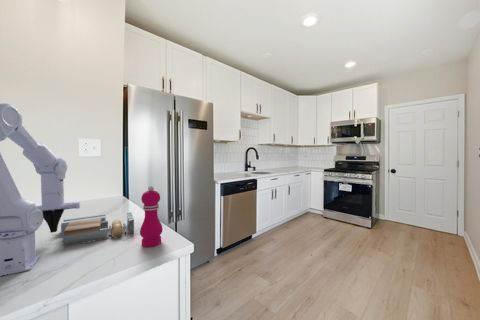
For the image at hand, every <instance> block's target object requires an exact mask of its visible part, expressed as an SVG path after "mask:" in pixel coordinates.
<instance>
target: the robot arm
mask: <svg viewBox="0 0 480 320" xmlns="http://www.w3.org/2000/svg"><path fill="white" fill-rule="evenodd" d="M7 138H9V140H11V142H13V143H14V144H16V145H18V146H19V147H20V148H21V149H23V150H22V156H24V157H25V158H27V159H28V160H29V161H30V162H31V163H32V165H33V167H34V168H35V172H36V174H38V175H40V193H41V205H36V203H34V202H32V201H31V200H27V199H26V198H23V197H22V195H21V193H20V191H19V188H18V187H17V185H16V182H15V181H14V178H13V176H12V174H11V172H10V171H9V168H8V166H7V163H6V162H5V159H4V158H3V155H2V153H1V152H0V277H2V275H4V276H7V274H8V275H12V274H17V273H21V272H25V271H29V270H32V268H33V267H34V266H35V264H36V262H38V260H39V258H40V257H41V255H42V254H41V253H37V254H36V231H38V230H39V228H40V227H41V226H42V225H43V221H45V222H46V224H47V226H48V228H49V230H50V231H49V232H50V233H51V234H52V233H57V231H58V227H59V223H60V221H61V218H62V216H63V214H64V211H65V210H74V209H76V210H77V209H80V208H81V202H80V201H78V202H77V201H76V202H65V192H64V191H65V189H64V187H65V185H64V183H65V182H64V179H65V178H66V173H67V171H68V164H67V162H66V160H64V159H63V158H61V157H60V158H58V157H57V156H56V155H55V153H53V152H52V151H51V150H50V148H49V147H47V145H46V144H45V143H43V142H37V141H36V140H35V139H34V137H33V136H32V135H31V133H30V132H29V131H28V130H27V129H26V127H25V126H24V125H23V116H22V114H20V113H19V111H18V109H17V108H16V107H15V106H13V105H12V104H11V103H10V104H9V103H0V142H2V141H5V140H6V139H7ZM33 265H34V266H33Z"/></svg>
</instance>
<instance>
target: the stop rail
mask: <svg viewBox="0 0 480 320" xmlns="http://www.w3.org/2000/svg"><path fill="white" fill-rule="evenodd" d="M126 220H127V222H126V226H127V229H128V230H129V231H128V230H127V231H128V235H129V234H131V235H134V234H135V219H134V216H133V214H132V212H126Z"/></svg>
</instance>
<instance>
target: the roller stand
mask: <svg viewBox="0 0 480 320" xmlns="http://www.w3.org/2000/svg"><path fill="white" fill-rule="evenodd" d="M95 218H101V222H102V221H107V220H106V214H104V213H103V214H98V215H91V216H84V217H76V218H67V219H63V221H62V222H61V224H60V235H61V236H63V235H64V230H65V229H66V227H67V225H68V224H69V222H74V221H81V220H88V219H95Z"/></svg>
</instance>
